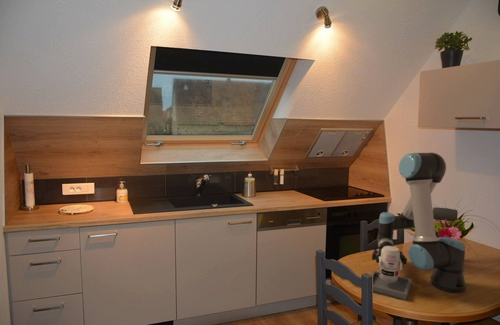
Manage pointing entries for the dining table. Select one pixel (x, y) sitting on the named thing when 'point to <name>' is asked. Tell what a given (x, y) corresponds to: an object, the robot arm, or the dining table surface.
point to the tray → (391, 287)
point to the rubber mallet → (445, 214)
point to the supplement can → (389, 263)
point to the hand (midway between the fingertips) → (390, 265)
